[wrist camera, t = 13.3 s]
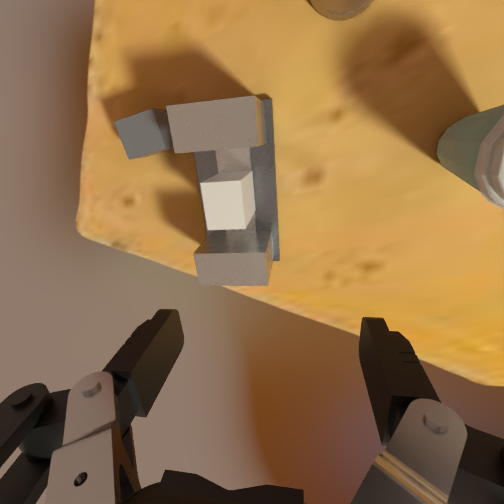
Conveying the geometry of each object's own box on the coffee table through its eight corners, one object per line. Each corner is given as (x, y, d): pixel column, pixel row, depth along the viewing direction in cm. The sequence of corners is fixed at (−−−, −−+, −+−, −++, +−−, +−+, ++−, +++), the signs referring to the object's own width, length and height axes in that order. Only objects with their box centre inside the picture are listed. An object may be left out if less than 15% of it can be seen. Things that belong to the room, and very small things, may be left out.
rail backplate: (189, 108, 39) (156, 101, 30) (272, 99, 37) (263, 88, 28) (212, 259, 48) (193, 288, 39) (279, 258, 46) (275, 288, 37)
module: (218, 172, 41) (198, 183, 32) (252, 170, 40) (240, 180, 32) (223, 211, 43) (205, 230, 35) (255, 210, 42) (245, 228, 34)
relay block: (132, 123, 41) (112, 122, 37) (168, 111, 40) (151, 108, 35) (145, 157, 43) (127, 159, 38) (180, 146, 41) (166, 148, 37)
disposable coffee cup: (476, 79, 33) (603, 43, 19) (530, 141, 34) (682, 147, 21) (402, 151, 37) (462, 162, 23) (452, 202, 39) (536, 241, 25)
